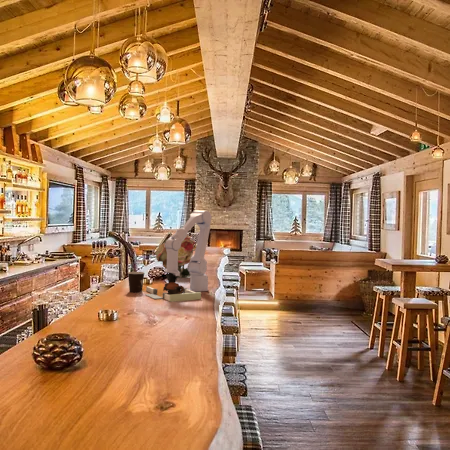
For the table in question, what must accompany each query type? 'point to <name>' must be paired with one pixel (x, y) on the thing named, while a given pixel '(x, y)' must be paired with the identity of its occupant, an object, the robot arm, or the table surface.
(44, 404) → the table surface
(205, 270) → the robot arm
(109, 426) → the table surface
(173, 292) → the pottery mug
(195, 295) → the lane
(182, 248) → the rose bouquet
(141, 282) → the coffee mug
